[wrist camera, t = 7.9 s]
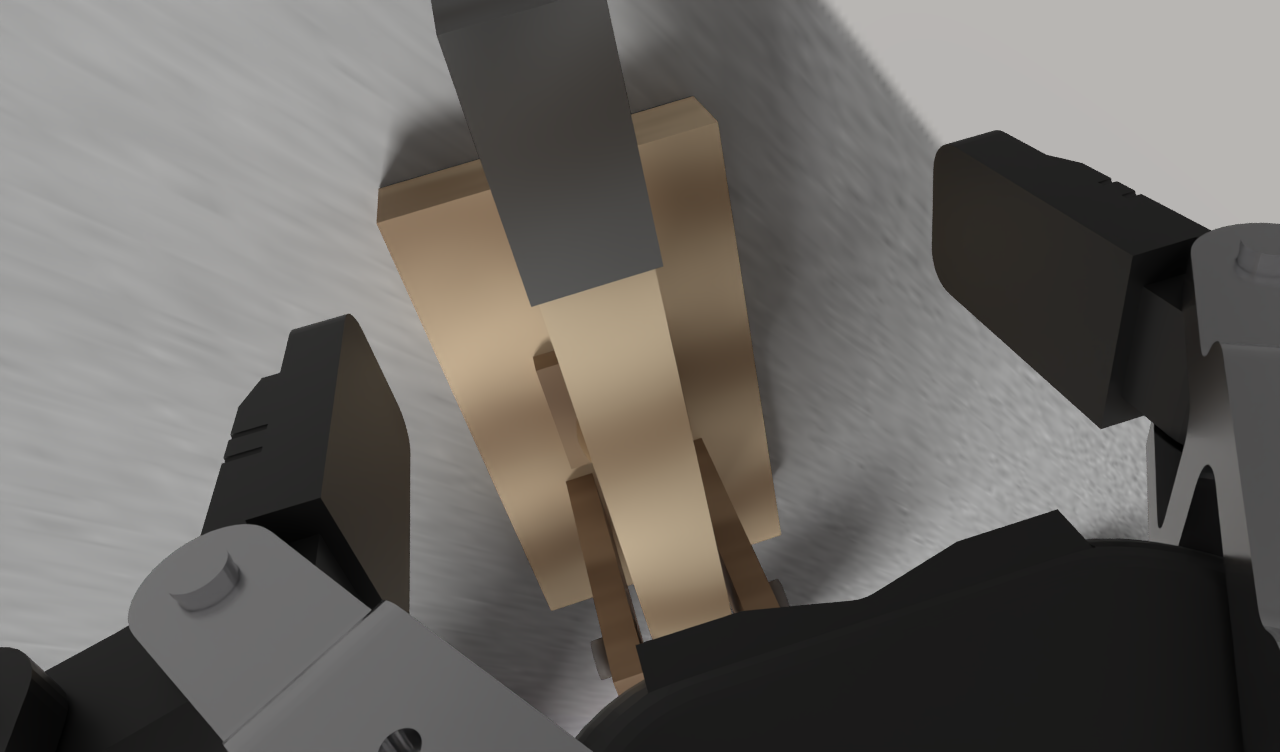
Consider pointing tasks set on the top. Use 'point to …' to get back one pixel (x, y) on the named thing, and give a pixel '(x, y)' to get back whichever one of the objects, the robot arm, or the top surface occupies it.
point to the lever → (591, 272)
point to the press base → (537, 393)
